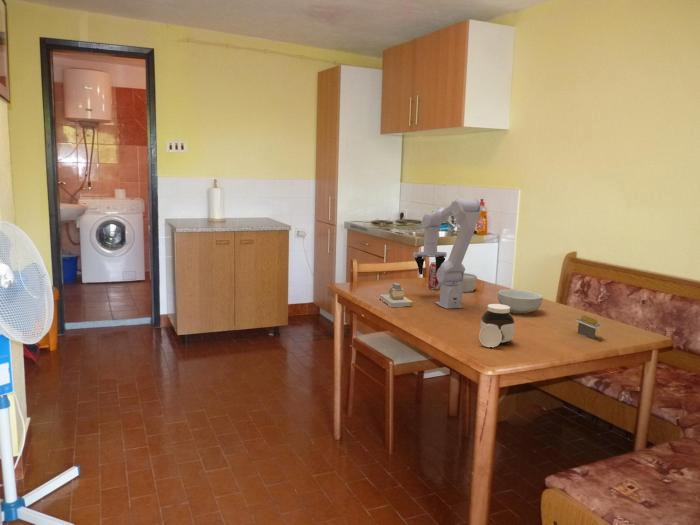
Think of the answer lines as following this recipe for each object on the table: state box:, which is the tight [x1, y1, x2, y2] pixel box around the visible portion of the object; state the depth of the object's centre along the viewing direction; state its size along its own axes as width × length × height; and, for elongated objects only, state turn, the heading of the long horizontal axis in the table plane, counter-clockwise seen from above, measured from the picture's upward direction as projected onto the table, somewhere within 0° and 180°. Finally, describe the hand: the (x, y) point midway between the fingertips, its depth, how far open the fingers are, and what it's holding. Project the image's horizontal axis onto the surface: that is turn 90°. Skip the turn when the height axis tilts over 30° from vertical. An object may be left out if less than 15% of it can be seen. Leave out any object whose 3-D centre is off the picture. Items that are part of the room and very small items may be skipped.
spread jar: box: [478, 303, 515, 348], centre depth 169 cm, size 12×11×12 cm
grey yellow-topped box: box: [574, 315, 602, 340], centre depth 180 cm, size 12×18×7 cm, turn 17°
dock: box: [379, 293, 414, 308], centre depth 219 cm, size 14×9×2 cm, turn 15°
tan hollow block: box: [388, 286, 405, 300], centre depth 218 cm, size 6×4×4 cm
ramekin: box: [459, 272, 478, 293], centre depth 247 cm, size 13×13×7 cm
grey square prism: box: [392, 282, 402, 289], centre depth 218 cm, size 3×2×2 cm, turn 18°
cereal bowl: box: [497, 289, 543, 314], centre depth 211 cm, size 17×17×7 cm
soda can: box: [427, 261, 441, 290], centre depth 247 cm, size 7×7×12 cm
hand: (429, 273), depth 230 cm, fingers open, 7 cm apart
